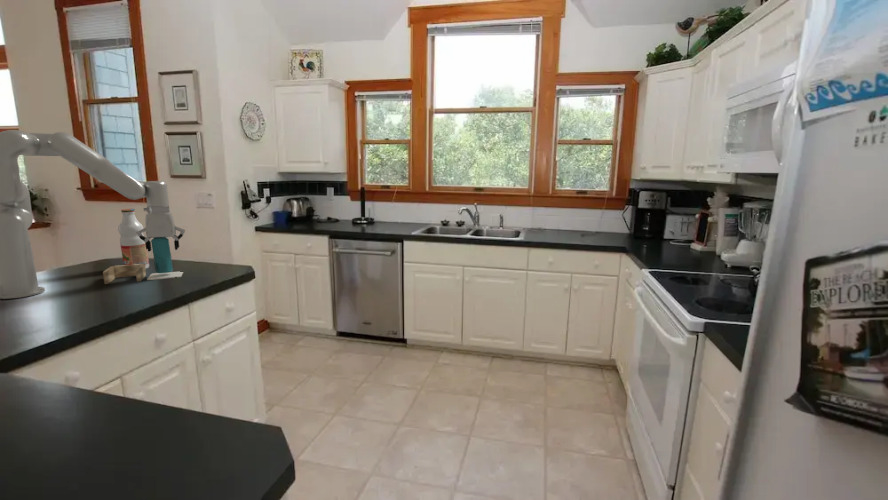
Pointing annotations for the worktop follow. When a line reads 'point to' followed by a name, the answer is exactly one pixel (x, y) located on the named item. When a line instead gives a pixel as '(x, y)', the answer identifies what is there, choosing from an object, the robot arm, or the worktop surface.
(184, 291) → the worktop surface
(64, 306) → the worktop surface
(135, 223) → the fruit juice
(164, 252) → the beverage bottle
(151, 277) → the trivet
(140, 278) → the bottle bracket
